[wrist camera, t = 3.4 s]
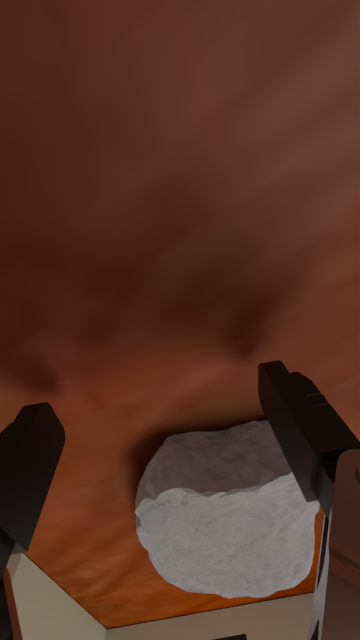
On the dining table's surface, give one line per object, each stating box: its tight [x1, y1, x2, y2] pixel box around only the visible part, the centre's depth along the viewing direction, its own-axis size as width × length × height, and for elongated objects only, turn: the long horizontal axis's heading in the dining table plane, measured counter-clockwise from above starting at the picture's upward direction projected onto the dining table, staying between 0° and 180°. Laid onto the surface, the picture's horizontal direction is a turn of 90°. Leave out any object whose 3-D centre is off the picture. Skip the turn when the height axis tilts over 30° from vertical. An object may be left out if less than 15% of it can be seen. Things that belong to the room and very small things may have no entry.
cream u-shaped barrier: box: [6, 553, 315, 640], centre depth 21 cm, size 21×27×4 cm
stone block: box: [135, 420, 320, 599], centre depth 15 cm, size 12×5×10 cm
